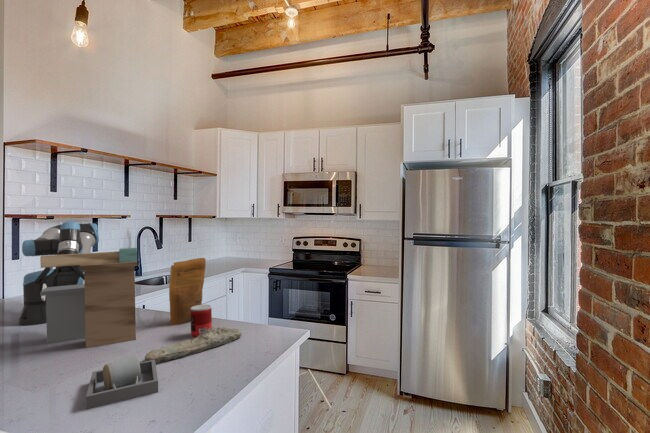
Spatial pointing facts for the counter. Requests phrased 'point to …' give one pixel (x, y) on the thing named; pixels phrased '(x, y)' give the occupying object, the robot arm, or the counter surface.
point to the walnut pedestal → (109, 303)
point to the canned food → (200, 319)
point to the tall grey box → (65, 312)
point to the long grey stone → (194, 344)
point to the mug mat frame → (121, 392)
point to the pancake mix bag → (185, 289)
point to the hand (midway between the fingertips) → (63, 297)
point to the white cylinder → (122, 372)
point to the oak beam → (89, 258)
